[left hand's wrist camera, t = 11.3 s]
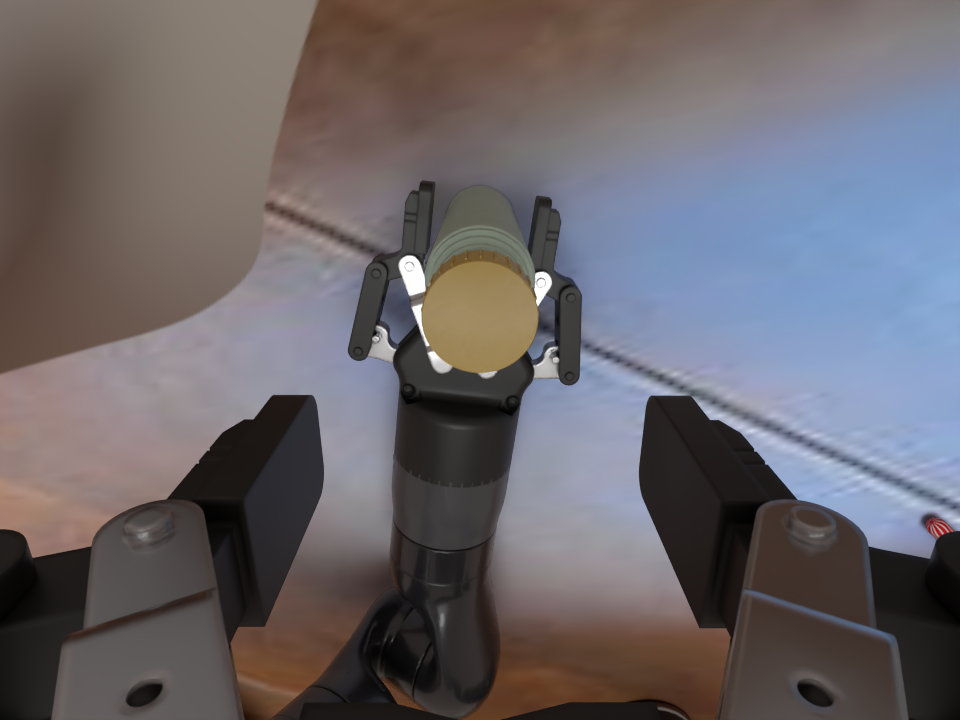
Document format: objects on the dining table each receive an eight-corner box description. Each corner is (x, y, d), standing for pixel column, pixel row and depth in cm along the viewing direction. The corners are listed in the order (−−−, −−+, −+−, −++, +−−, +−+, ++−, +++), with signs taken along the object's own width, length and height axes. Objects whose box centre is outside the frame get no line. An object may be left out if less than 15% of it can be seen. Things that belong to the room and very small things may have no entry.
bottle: (525, 204, 38) (572, 284, 19) (495, 265, 40) (509, 398, 20) (464, 173, 38) (446, 223, 18) (435, 236, 39) (390, 344, 20)
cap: (555, 278, 20) (562, 292, 19) (504, 372, 22) (506, 393, 20) (453, 228, 20) (450, 237, 18) (407, 328, 21) (400, 345, 19)
